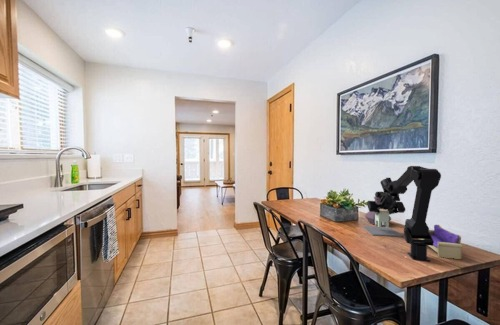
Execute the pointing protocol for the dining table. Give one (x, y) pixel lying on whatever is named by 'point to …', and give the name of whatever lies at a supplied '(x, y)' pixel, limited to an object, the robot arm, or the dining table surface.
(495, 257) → the dining table surface
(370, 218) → the flask
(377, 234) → the mat
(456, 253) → the toy sofa
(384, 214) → the stool
